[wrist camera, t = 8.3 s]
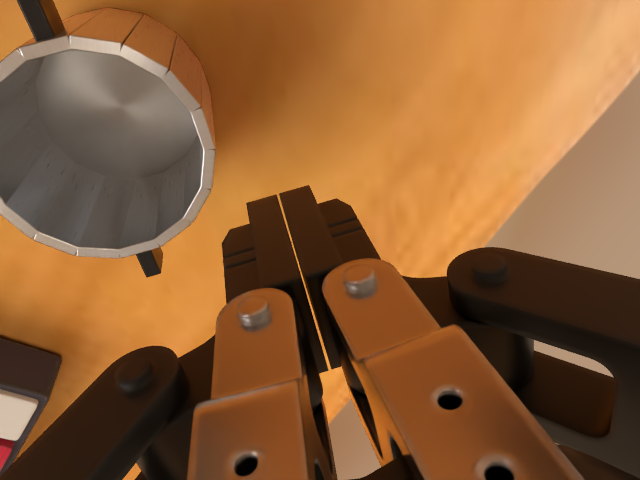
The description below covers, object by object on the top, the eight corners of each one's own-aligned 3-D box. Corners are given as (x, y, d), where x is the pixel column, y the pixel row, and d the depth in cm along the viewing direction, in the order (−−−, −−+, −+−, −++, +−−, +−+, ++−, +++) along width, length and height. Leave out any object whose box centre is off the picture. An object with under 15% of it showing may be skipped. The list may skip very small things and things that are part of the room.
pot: (153, -39, 18) (-117, 28, 17) (250, 252, 24) (53, 309, 23) (167, -44, 26) (-20, 1, 25) (237, 177, 32) (89, 218, 31)
